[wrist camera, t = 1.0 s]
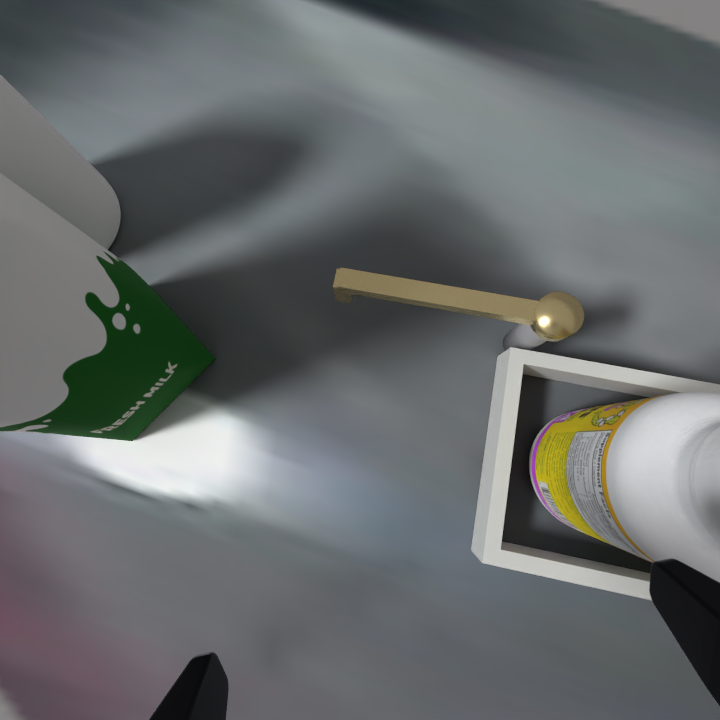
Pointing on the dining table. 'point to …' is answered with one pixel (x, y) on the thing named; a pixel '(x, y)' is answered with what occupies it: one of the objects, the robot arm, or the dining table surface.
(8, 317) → the milk carton
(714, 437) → the supplement bottle
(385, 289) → the brass lever handle
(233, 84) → the dining table surface
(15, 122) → the pill bottle
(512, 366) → the socket collar
